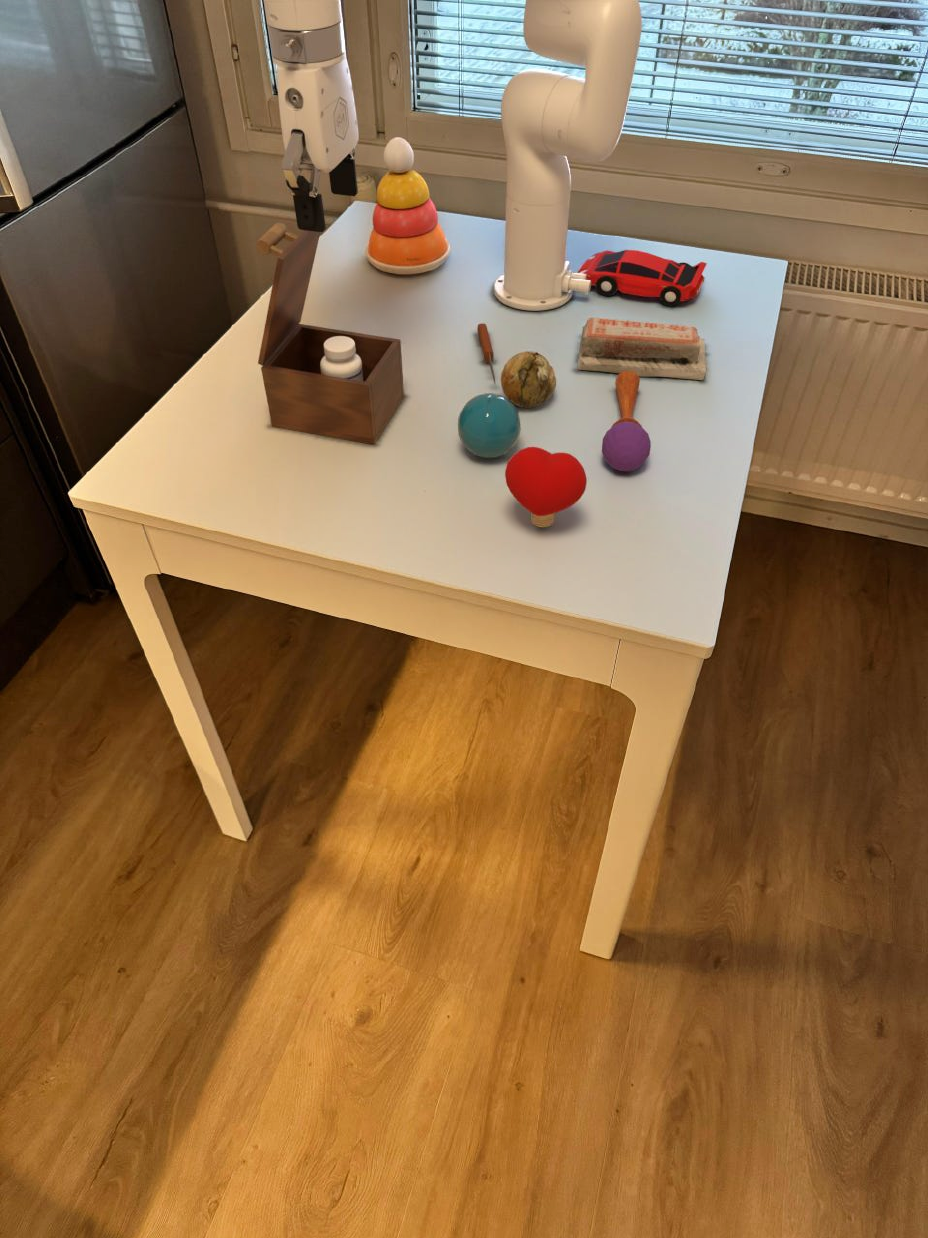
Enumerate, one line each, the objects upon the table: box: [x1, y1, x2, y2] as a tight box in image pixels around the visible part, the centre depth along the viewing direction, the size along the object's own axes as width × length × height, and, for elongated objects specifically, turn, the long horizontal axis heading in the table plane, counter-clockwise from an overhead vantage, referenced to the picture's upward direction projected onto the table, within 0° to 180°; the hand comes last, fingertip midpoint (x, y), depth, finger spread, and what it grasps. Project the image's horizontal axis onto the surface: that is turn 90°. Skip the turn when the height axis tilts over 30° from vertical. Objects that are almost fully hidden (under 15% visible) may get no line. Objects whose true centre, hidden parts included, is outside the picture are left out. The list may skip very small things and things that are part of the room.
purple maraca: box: [601, 371, 652, 472], centre depth 118 cm, size 6×6×20 cm
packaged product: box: [577, 316, 707, 381], centre depth 131 cm, size 18×5×10 cm
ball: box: [457, 392, 522, 459], centre depth 114 cm, size 8×8×8 cm
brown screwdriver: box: [477, 323, 496, 384], centre depth 132 cm, size 16×1×2 cm, turn 6°
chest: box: [260, 323, 405, 446], centre depth 121 cm, size 15×12×9 cm
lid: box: [255, 222, 321, 367], centre depth 113 cm, size 15×12×5 cm
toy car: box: [577, 249, 708, 308], centre depth 146 cm, size 10×20×5 cm, turn 72°
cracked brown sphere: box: [500, 350, 557, 409], centre depth 123 cm, size 8×8×8 cm
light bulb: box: [504, 446, 588, 528], centre depth 104 cm, size 9×7×10 cm
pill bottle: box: [320, 336, 364, 382], centre depth 119 cm, size 5×5×10 cm
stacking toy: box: [365, 136, 451, 275], centre depth 147 cm, size 14×14×20 cm
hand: (328, 211), depth 105 cm, fingers open, 9 cm apart
